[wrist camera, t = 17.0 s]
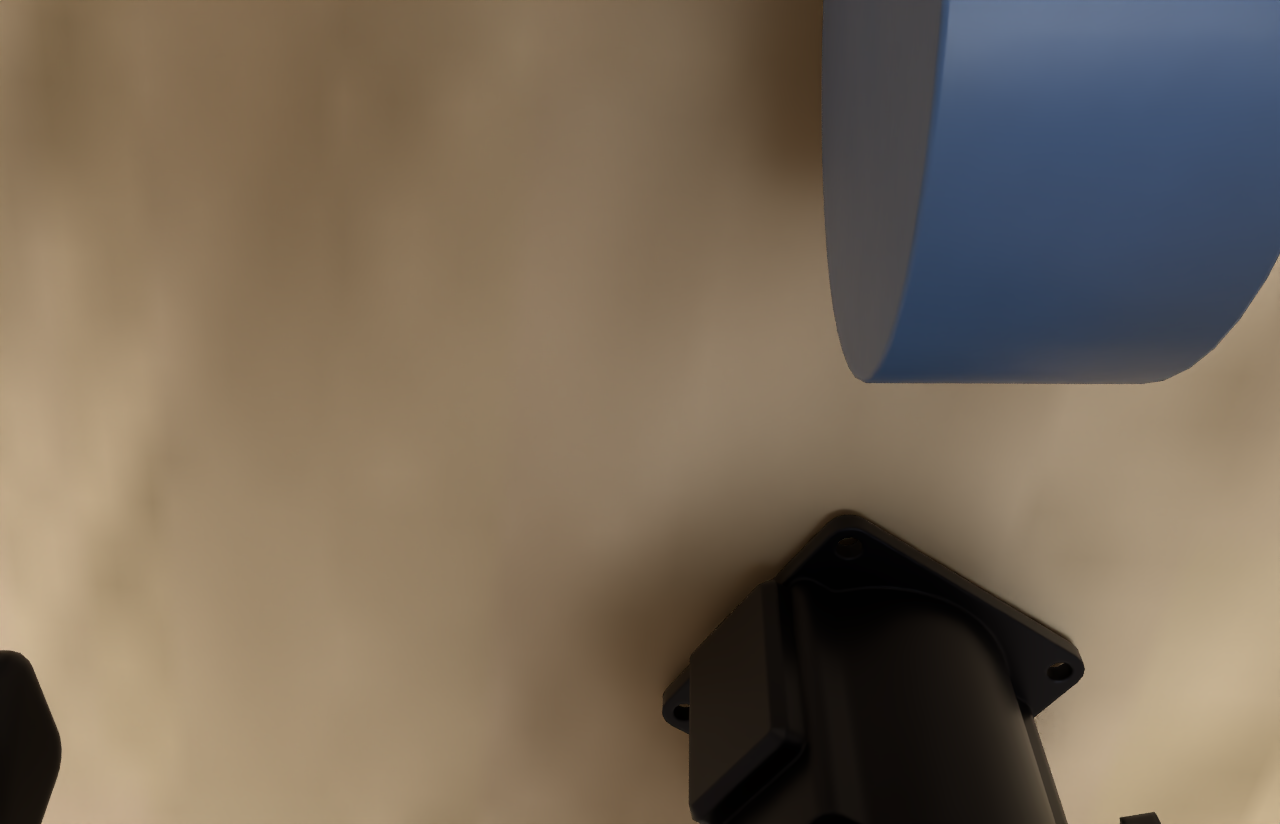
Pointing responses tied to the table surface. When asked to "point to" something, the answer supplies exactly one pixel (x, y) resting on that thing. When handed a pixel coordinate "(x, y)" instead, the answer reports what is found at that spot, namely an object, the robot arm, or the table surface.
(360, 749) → the table surface
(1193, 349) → the disc
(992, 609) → the robot arm
